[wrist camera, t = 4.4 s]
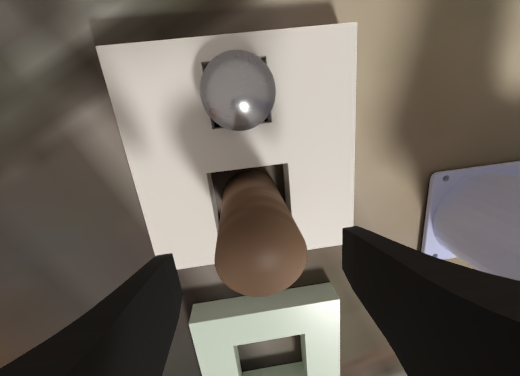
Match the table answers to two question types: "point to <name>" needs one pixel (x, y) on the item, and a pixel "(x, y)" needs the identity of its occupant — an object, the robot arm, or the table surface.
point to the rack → (269, 330)
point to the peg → (257, 237)
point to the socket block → (237, 132)
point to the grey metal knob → (237, 90)
